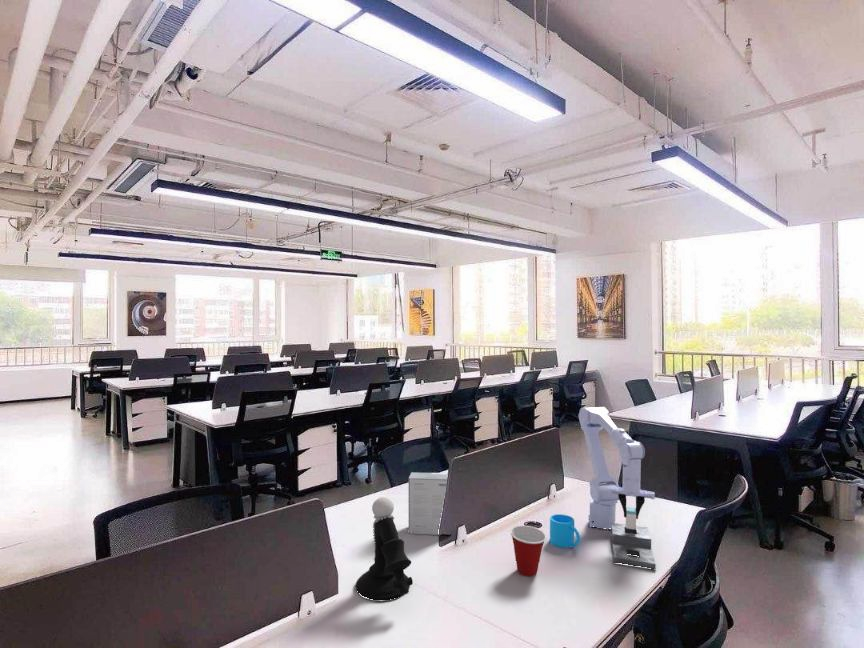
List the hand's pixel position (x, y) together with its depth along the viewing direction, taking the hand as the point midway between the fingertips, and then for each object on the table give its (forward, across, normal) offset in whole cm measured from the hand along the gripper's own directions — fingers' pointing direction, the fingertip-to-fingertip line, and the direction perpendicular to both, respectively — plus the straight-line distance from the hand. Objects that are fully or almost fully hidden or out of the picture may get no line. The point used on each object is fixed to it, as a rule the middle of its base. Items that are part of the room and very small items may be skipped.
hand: (630, 517), depth 170 cm
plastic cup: (+9, -31, -31) cm, 45 cm away
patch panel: (+9, 0, -6) cm, 11 cm away
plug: (+3, 0, 0) cm, 3 cm away
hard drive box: (+10, -68, -13) cm, 70 cm away
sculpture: (+9, -66, -56) cm, 87 cm away
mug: (+10, -21, -8) cm, 24 cm away
